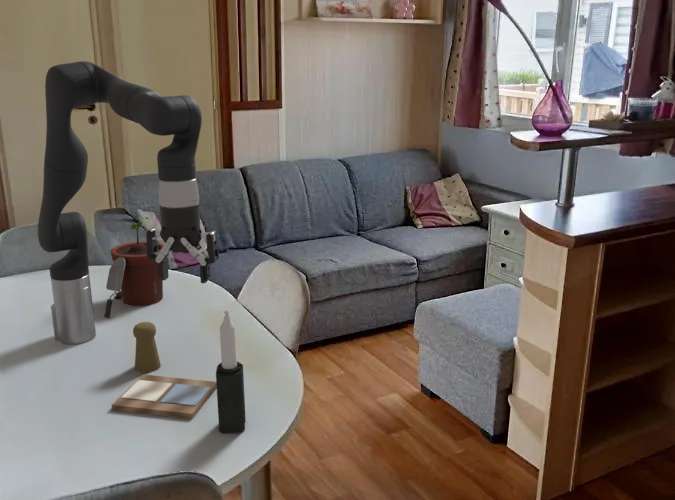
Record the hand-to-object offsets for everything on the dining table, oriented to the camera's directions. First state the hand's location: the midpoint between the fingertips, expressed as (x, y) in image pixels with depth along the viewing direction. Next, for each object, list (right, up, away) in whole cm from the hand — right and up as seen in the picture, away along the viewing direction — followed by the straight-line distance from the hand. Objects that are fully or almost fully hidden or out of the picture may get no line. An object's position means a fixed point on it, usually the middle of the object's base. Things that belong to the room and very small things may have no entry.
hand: (184, 280), depth 137 cm
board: (-6, -26, +11) cm, 29 cm away
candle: (+9, -29, 0) cm, 31 cm away
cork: (-15, -22, +26) cm, 37 cm away
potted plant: (-30, -10, +67) cm, 74 cm away
